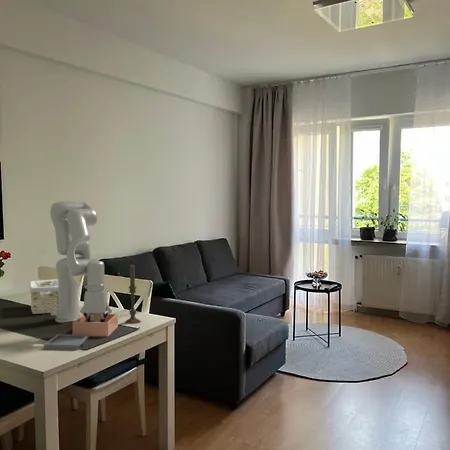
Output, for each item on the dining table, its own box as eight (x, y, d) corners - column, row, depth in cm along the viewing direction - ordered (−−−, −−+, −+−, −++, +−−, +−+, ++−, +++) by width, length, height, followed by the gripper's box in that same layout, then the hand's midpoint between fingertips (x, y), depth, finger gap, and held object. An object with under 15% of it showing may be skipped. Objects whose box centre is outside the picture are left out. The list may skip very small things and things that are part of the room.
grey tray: (43, 349, 194) (43, 344, 194) (57, 338, 208) (57, 334, 208) (77, 349, 193) (77, 345, 193) (88, 339, 207) (88, 335, 207)
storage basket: (29, 305, 269) (29, 280, 268) (59, 303, 276) (59, 278, 275) (30, 315, 247) (30, 287, 246) (63, 313, 254) (62, 285, 253)
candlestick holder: (133, 327, 227) (132, 265, 225) (119, 324, 232) (118, 264, 230) (146, 322, 235) (145, 263, 233) (132, 320, 240) (132, 261, 238)
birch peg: (88, 332, 215) (88, 310, 214) (92, 329, 220) (92, 308, 219) (99, 332, 215) (99, 310, 214) (103, 329, 220) (103, 308, 219)
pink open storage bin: (72, 337, 210) (72, 322, 209) (84, 327, 226) (84, 313, 225) (108, 338, 209) (108, 323, 209) (118, 328, 225) (117, 314, 225)
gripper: (74, 289, 213) (74, 329, 214) (111, 290, 212) (112, 329, 213) (80, 286, 220) (80, 324, 221) (116, 286, 219) (116, 325, 221)
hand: (96, 326), depth 217 cm, fingers closed on birch peg, 5 cm apart
